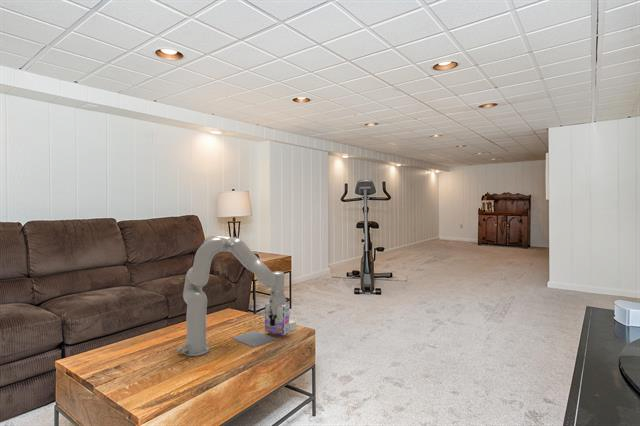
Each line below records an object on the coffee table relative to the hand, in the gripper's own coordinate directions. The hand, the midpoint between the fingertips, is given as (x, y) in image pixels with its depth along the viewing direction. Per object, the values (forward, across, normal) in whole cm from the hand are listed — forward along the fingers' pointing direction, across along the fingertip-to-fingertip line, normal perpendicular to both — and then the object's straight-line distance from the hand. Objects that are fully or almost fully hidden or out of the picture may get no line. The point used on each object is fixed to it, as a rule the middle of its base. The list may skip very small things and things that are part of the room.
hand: (277, 324), depth 206 cm
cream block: (+6, +12, +1) cm, 13 cm away
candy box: (+5, 0, 0) cm, 5 cm away
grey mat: (+7, -12, +5) cm, 15 cm away
